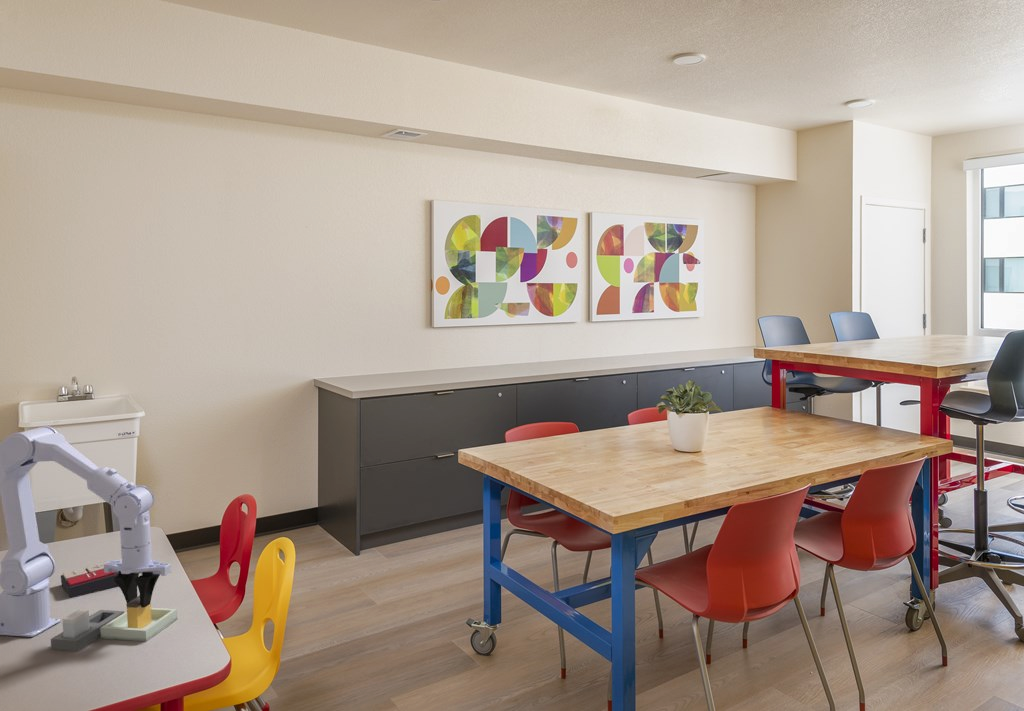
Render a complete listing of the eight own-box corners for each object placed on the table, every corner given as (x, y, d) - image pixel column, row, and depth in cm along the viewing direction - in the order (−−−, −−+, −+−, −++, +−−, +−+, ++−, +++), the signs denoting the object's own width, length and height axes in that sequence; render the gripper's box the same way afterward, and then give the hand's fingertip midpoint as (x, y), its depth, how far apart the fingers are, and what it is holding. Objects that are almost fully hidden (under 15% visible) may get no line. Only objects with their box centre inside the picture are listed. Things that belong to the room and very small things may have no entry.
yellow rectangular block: (128, 630, 152) (126, 603, 152) (141, 621, 156) (140, 595, 156) (138, 631, 152) (136, 604, 151) (151, 621, 156) (150, 595, 156)
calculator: (59, 572, 179) (125, 555, 188) (61, 588, 179) (127, 570, 189) (67, 585, 170) (136, 566, 180) (70, 602, 171) (138, 582, 181)
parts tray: (100, 638, 150) (100, 627, 150) (134, 616, 160) (134, 606, 160) (146, 641, 148) (145, 630, 148) (177, 619, 159) (177, 609, 158)
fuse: (64, 647, 146) (62, 619, 146) (80, 637, 150) (78, 609, 150) (74, 647, 146) (72, 619, 145) (90, 637, 150) (88, 610, 150)
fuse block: (51, 649, 145) (50, 639, 145) (100, 619, 159) (100, 609, 159) (77, 651, 144) (76, 640, 144) (124, 620, 158) (124, 611, 158)
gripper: (92, 549, 150) (95, 611, 151) (154, 552, 148) (157, 615, 149) (115, 538, 157) (118, 597, 158) (175, 540, 155) (178, 601, 156)
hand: (139, 605), depth 154 cm, fingers open, 3 cm apart
